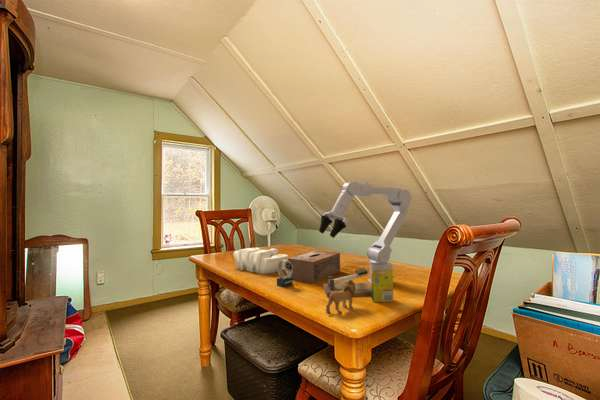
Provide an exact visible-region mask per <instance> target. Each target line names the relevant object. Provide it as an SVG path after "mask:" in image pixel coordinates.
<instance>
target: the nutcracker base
mask: <svg viewBox="0 0 600 400" xmlns="http://www.w3.org/2000/svg"><path fill="white" fill-rule="evenodd" d="M330 278H331V279H330ZM329 279H330V284H329V282H328V281H327V283H323V284H322V288H323V291H324V292H325V295H326V298H329V296H330V294H331V293H332V292H334V291H342V290H343V289H344V284H345V283H343V282H342V283H341V282H337V283H334V279H335V278H333V275H331V276H328V277H327V280H329ZM354 283H355V295H354V297H368V296H369V297H372V285H370V284H369V283H368V282H354Z"/></svg>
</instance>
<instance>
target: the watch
mask: <svg viewBox="0 0 600 400" xmlns="http://www.w3.org/2000/svg"><path fill="white" fill-rule="evenodd" d="M282 262H283V268H282V267H281V264H282ZM277 270H278V272H277V273H278V276H280V277H276V286H277V287H280V288H286V287H289V286H292V285H293V283H294V282H293V281H294V280H293V278H292V277H290V276H291V275H292V273H293V264H292V263H291V262H290V261H288V259H287V260H281V261H279V262H278V265H277ZM284 272H286V273H284ZM285 274H287V275H285Z"/></svg>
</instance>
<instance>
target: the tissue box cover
mask: <svg viewBox="0 0 600 400" xmlns="http://www.w3.org/2000/svg"><path fill="white" fill-rule="evenodd" d="M287 260H288V261H290V262H291V263H292V264H293V273H292V275H291V276H290V277H292V278H293V281H294V280H295V281H299V282H303V283H309V284H310V283H311V284H315V283H317V282H318V283H319V282H320V281H322V280H324V279H327V278H328V276H333V275H335V274H337V273H339V272H341V253H340V252H337V251H336V252H335V251H326V250H313V251H309V252H306V253H303V254H302V253H301V254H299V255H295V256H292V257H288V258H287Z"/></svg>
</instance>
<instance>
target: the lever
mask: <svg viewBox="0 0 600 400" xmlns="http://www.w3.org/2000/svg"><path fill="white" fill-rule="evenodd" d="M354 271H355V273H354V274H350V275H345V276H340V277H337V278H333V279H334V284H337V283H341V282H342V283H343V282H345V281H347V280H354V279H358V278H362V277H366V276H368V274H369V273H368V272H369V271H368V270H367V269H366V268H365V267H363V268H359V269H355V270H354ZM330 279H331V278H330ZM330 279H329V280H328V279H327V280H328V281H327V283H328V282H329V284H330Z"/></svg>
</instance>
